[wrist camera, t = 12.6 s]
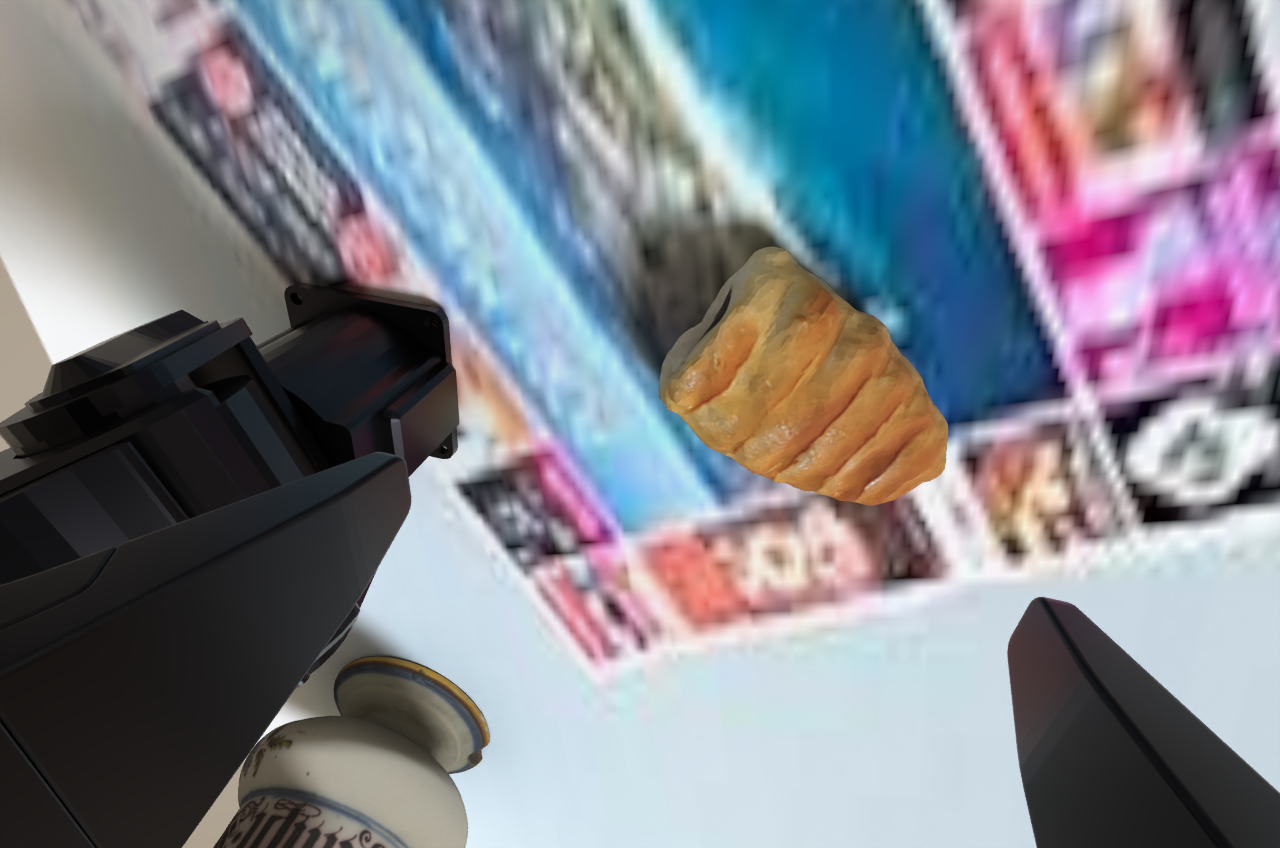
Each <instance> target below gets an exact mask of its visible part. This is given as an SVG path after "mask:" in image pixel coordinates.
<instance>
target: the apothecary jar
mask: <svg viewBox="0 0 1280 848" xmlns="http://www.w3.org/2000/svg"><path fill="white" fill-rule="evenodd" d="M334 698H335V702H336V705H337V707H338V710H339V712H340V714H341V716H325V717H315V718H308V719H303V720H298V721H293V722H290V723H287V724H284V725H282V726H280V727H278V728H276V729H274V730H273V731H271V732H270V733H268V734H267V735H266V736H264V737H263V738H262V739H261V740H260V741H259V742H258V743H257V744H256V745H255V746H254V748H253V749H252V751H251V752H250V753H249V755H248V757H247V758H246V760H245V762H244V765H243V767H242V770H241V774H240V779H239V787H238V801H239V807H240V809H239V810H238V812H237V813H236V815H235V816H234V818H233V819H232V821H231V822H230V824H229V825H228V827H227V828H226V830H225V832H224V833H223V834H222V836H221V837H220V839H219V840H218V842H217V843H216V844H215V846H214V848H465V847H466V842H467V835H468V822H467V815H466V811H465V807H464V804H463V801H462V798H461V795H460V793H459V791H458V789H457V787H456V785H455V783H454V781H453V780H452V778H451V777H450V776H449V774H453V773H459V772H463V771H466V770H469V769H471V768H473V767H474V766H476V765H477V764H478V763H480V762H481V760H482V755H481V749H483V748H484V747H485V746H487V745H488V744H489V742H490V735H489V729H488V726H487V723H486V720H485V718H484V716H483V714H482V713H481V712H480V710H479V709H478V708H477V706H476V705H475V704H474V702H473V701H472V700H471V699H470V698H469V697H468V696H467V695H466V694H465V693H464V692H463V691H462V690H460V689H459V688H458V687H457V686H456V685H455V684H453V683H452V682H450V681H449V680H448V679H446V678H445V677H443V676H441V675H439V674H438V673H436V672H434V671H432V670H430V669H428V668H426V667H423V666H421V665H418V664H416V663H412V662H409V661H405V660H401V659H396V658H390V657H365V658H361V659H358V660H355V661H353V662H351V663H350V664H348V665H346V666H345V667H344V668H343V669H342V670H341V671H340V673H339V674H338V676H337V678H336V681H335V684H334Z"/></svg>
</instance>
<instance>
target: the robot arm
mask: <svg viewBox="0 0 1280 848" xmlns="http://www.w3.org/2000/svg"><path fill="white" fill-rule="evenodd" d="M298 294H299V295H300V296H301V297H302V300H303V301H302V300H301V299H300V298H299V297H298ZM285 301H286V305H287V310H288V315H289V319H290V324H291V328H290V329H288V330H286V331H284V332H282V333H280V334H279V335H277V336H275V337H273V338H271V339H269V340H267V341H265V342H263V343H261V344H260V345H258V346H256V345H255V344H254V342H253V340H252V339H251V337H250V336H251V335H252V332H251V330H250V329H249V327H248V326H247V324H246V322H245V321H244V319H243V318H239V319H236V320H233V321H230V322H226V323H223V324H220V325H219V323H218V322H217V320H216V321H212V322H208V321H206V322H204V321H202V320H200V319H198V318H196V317H194V316H192V315H191V314H189V313H187V312H185V311H183V310H180V311H177V312H174V313H171V314H169V315H166V316H164V317H161V318H159V319H156V320H154V321H151V322H149V323H146V324H144V325H141V326H139V327H136V328H134V329H132V330H129V331H127V332H124V333H122V334H119V335H117V336H115V337H112V338H110V339H108V340H105V341H103V342H101V343H99V344H97V345H94V346H92V347H90V348H88V349H86V350H84V351H82V352H79V353H77V354H75V355H73V356H71V357H69V358H67V359H64V360H62V361H60V362H58V363H56V364H54V365H52V367H51V370H50V373H49V376H48V379H47V381H46V384H45V387H44V390H43V392H42V393H40V394H38V395H37V396H35V397H34V398H32V399H30V400H29V401H28V402H26V403H25V405H26V407H25V408H23V409H21V410H20V411H18V412H17V413H15V414H13V415H12V416H10V417H9V418H7V419H6V420H4V421H2V422H1V423H0V436H1V437H2V438H3V439H4V440H5V441H6V443H7V444H8V445H9V446H10V447H11V448H9V449H7V450H4V451H2V452H0V848H182V847H183V845H184V844H185V842H186V841H187V840H188V838H189V837H190V835H191V834H192V832H193V831H194V830H195V828H196V827H197V826H198V824H199V823H200V821H201V820H202V818H203V817H204V816H205V814H206V813H207V812H208V810H209V809H210V807H211V806H212V805H213V803H214V802H215V800H216V799H217V798H218V796H219V795H220V793H221V792H222V791H223V789H224V788H225V786H226V785H227V784H228V782H229V781H230V779H231V778H232V777H233V775H234V774H235V772H236V771H237V770H238V768H239V767H240V765H241V764H242V763H243V761H244V760H245V758H246V757H247V756H248V754H249V753H250V751H251V750H252V749H253V747H254V746H255V744H256V743H257V742H258V740H259V739H260V737H261V736H262V735H263V733H264V732H265V730H266V729H267V728H268V726H269V725H270V723H271V722H272V721H273V719H274V718H275V716H276V715H277V714H278V712H279V711H280V709H281V708H282V707H283V705H284V704H285V702H286V701H287V700H288V698H289V697H290V695H291V694H292V693H293V691H294V690H295V689H296V688H297V687H299V686H301V685H302V684H304V683H305V682H306V681H307V680H308V678H309V676H310V674H311V673H312V672H314V671H315V670H316V669H317V668H319V667H320V666H321V665H322V664H323V663H324V662H325V661H326V660H327V659H328V658H329V657H330V656H331V655H332V654H333V653H334V652H335V651H336V650H337V649H338V647H339V646H340V645H341V644H342V642H343V641H344V640H345V638H346V636H347V634H348V633H349V631H350V629H351V627H352V625H353V623H354V622H355V621H356V619H357V617H358V614H359V612H360V607H361V604H362V602H363V600H364V598H365V595H366V593H367V591H368V589H369V586H370V584H371V582H372V580H373V577H374V575H375V573H376V571H377V568H378V566H379V565H380V563H381V561H382V559H383V558H384V556H385V554H386V552H387V550H388V549H389V547H390V545H391V543H392V542H393V540H394V538H395V536H396V535H397V533H398V531H399V529H400V527H401V526H402V524H403V522H404V520H405V519H406V517H407V515H408V513H409V510H410V507H411V492H410V485H409V478H408V477H409V476H410V475H411V474H412V473H413V472H414V471H415V470H416V469H417V468H418V467H419V466H420V465H421V464H422V463H423V462H424V461H425V460H426V458H427V457H428V456H432V457H436V458H441V459H448V458H451V457H452V455H453V454H454V453H455V452H456V451H457V448H458V442H457V428H456V427H457V426H458V425H459V410H458V396H457V381H456V370H455V368H454V367H453V365H452V359H451V345H450V331H449V321H448V317H447V316H446V314H445V313H444V312H443V311H442V310H441V309H439V308H436V307H432V306H426V305H421V304H415V303H410V302H404V301H399V300H393V299H388V298H382V297H376V296H371V295H365V294H360V293H354V292H349V291H343V290H338V289H332V288H327V287H321V286H316V285H310V284H304V283H296V284H294V285H291V286H289V287H288V288H286V290H285ZM430 317H431V318H433V319H434V320H435V321H436V322H437V326H435V325H433V324H432V323H431V321H430ZM442 444H443V445H445V446H446V447H447V449H446V448H444V447H443V446H442ZM1007 654H1008V666H1009V675H1010V685H1011V695H1012V704H1013V714H1014V723H1015V733H1016V743H1017V752H1018V759H1019V766H1020V772H1021V777H1022V782H1023V788H1024V792H1025V797H1026V801H1027V806H1028V810H1029V815H1030V819H1031V824H1032V828H1033V833H1034V837H1035V842H1036V846H1037V848H1280V793H1279V792H1278V791H1277V790H1276V789H1275V788H1274V787H1273V786H1272V785H1270V784H1269V783H1268V782H1267V781H1266V780H1265V779H1264V778H1263V777H1262V776H1261V775H1260V774H1258V773H1257V772H1256V771H1255V770H1254V769H1253V768H1252V767H1251V766H1250V765H1249V764H1248V763H1246V762H1245V761H1244V760H1243V759H1242V758H1241V757H1240V756H1239V755H1238V754H1237V753H1236V752H1234V751H1233V750H1232V749H1231V748H1230V747H1229V746H1228V745H1227V744H1226V743H1225V742H1223V741H1222V740H1221V739H1220V738H1219V737H1218V736H1217V735H1216V734H1215V733H1214V732H1213V731H1211V730H1210V729H1209V728H1208V727H1207V726H1206V725H1205V724H1204V723H1203V722H1202V721H1201V720H1199V719H1198V718H1197V717H1196V716H1195V715H1194V714H1193V713H1192V712H1191V711H1190V710H1189V709H1187V708H1186V707H1185V706H1184V705H1183V704H1182V703H1181V702H1180V701H1179V700H1178V699H1177V698H1175V697H1174V696H1173V695H1172V694H1171V693H1170V692H1169V691H1168V690H1167V689H1166V688H1164V687H1163V686H1162V685H1161V684H1160V683H1159V682H1158V681H1157V680H1156V679H1155V678H1154V677H1152V676H1151V675H1150V674H1149V673H1148V672H1147V671H1146V670H1145V669H1144V668H1143V667H1142V666H1140V665H1139V664H1138V663H1137V662H1136V661H1135V660H1134V659H1133V658H1132V657H1131V656H1130V655H1128V654H1127V653H1126V652H1125V651H1124V650H1123V649H1122V648H1121V647H1120V646H1119V645H1118V644H1116V643H1115V642H1114V641H1113V640H1112V639H1111V638H1110V637H1109V636H1108V635H1107V634H1105V633H1104V632H1103V631H1102V630H1101V629H1100V628H1099V627H1098V626H1097V625H1096V624H1095V623H1093V622H1092V621H1091V620H1090V619H1089V618H1088V617H1087V616H1086V615H1085V614H1084V613H1083V612H1081V611H1080V610H1079V609H1078V608H1077V607H1076V606H1074V605H1073V604H1071V603H1068V602H1064V601H1059V600H1055V599H1050V598H1045V597H1038V598H1035V599H1034V600H1033V601H1032V602H1031V603H1030V604H1029V606H1028V608H1027V609H1026V611H1025V613H1024V615H1023V616H1022V618H1021V620H1020V622H1019V623H1018V625H1017V627H1016V629H1015V630H1014V632H1013V634H1012V636H1011V638H1010V641H1009V644H1008V653H1007Z"/></svg>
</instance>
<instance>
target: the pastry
mask: <svg viewBox="0 0 1280 848" xmlns="http://www.w3.org/2000/svg"><path fill="white" fill-rule="evenodd" d="M659 397H660V399H661V401H663V402H664V404H665V405H666V407H667V409H668V410H670V411H672V412H675V413H677V414H678V415H679V416H681V418H682V419H683V420H684V421H685V422H686V423H687V424H688V425H689V426H690V428H691V429H692V430H693V432H694V433H695V434H696V435H697V436H698V438H699V439H700V440H701V441H702V442H703V443H705V444H706V445H707V446H708V447H709V448H711V449H713V450H716V451H718V452H720V453H722V454H724V455H726V456H729V457H731V458H733V459H734V460H735V461H737V462H738V463H739V464H740V465H742V466H744V467H745V468H747V469H748V470H749V471H750V472H752V473H756V474H759V475H762V476H764V477H767V478H769V479H771V480H772V481H774V482H778V483H787V484H790V485H791V486H793V487H796V488H798V489H801V490H803V491H814V492H816V493H819V494H822V495H827V496H830V497H833V498H836V499H838V500H840V501H852V502H857V503H861V504H865V505H869V506H871V505H876V504H881V503H885V502H888V501H891V500H894V499H896V498H898V497H900V496H902V495H903V494H905V493H907V492H909V491H911V490H912V489H914V488H915V487H917V486H918V485H920V484H921V483H923V482H927V481H931V480H933V479H935V478H936V477H938V476H939V475H940V474H941V473H942V472H943V470H944V469H945V464H946V450H947V441H948V425H947V422H946V420H945V418H944V417H943V415H942V414H941V413H940V411H939V410H938V408H937V407H936V406H935V405H934V403H933V402H932V400H931V398H930V397H929V395H928V393H927V391H926V389H925V386H924V383H923V380H922V378H921V376H920V374H919V373H918V371H916V369H915V368H914V367H913V365H912V364H911V363H910V362H909V361H908V360H907V359H906V358H905V357H904V356H903V355H902V354H901V353H900V352H899V350H898V348H897V347H896V346H895V344H894V343H893V342H892V340H891V338H890V333H889V331H888V329H887V328H886V326H885V325H884V324H883V323H882V322H881V321H879V320H878V319H877V318H876V317H874V316H872V315H869V314H866V313H863V312H859V311H857V310H855V309H854V308H853V307H852V306H851V305H850V304H849V303H847V302H846V301H845V300H844V299H842V298H841V297H840V296H839V295H838V294H837V293H836V292H834V291H833V290H832V289H831V287H830V286H829V285H828V284H827V283H825V282H824V281H822V280H821V279H820V278H818V277H817V276H815V275H813V274H811V273H810V272H808V271H806V270H804V269H803V268H802V267H800V265H799V264H798V263H797V262H796V260H795V259H794V258H793V256H792V255H791V254H790V253H789V252H788V251H786V250H785V249H780V248H777V247H766V248H762V249H759V250H757V251H756V252H754V253H753V255H752V256H751V257H750V258H749V259H748V261H747V262H746V263H745V264H744V266H743V267H742V268H741V269H739V270H737V271H736V272H735V273H734V274H733V275H732V276H731V277H730V278H729V279H728V280H727V282H726V283H725V284H724V286H723V287H722V288H721V289H720V291H719V293H718V295H717V297H716V299H715V300H714V301H713V303H712V304H711V305H710V308H709V309H708V311H707V313H706V314H705V317H704V319H703V320H702V322H701V323H699V324H698V325H696V326H695V327H694V328H690V329H689V330H687V331H686V332H685V333H683V334H682V335H681V336H680V337H679V338H678V339H677V341H676V343H675V344H674V346H673V347H672V349H671V350H670V351H669V352H668V353H667V355H666V358H665V360H664V362H663V365H662V369H661V375H660V383H659Z"/></svg>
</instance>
